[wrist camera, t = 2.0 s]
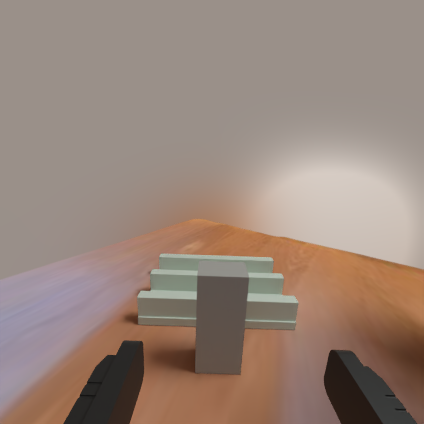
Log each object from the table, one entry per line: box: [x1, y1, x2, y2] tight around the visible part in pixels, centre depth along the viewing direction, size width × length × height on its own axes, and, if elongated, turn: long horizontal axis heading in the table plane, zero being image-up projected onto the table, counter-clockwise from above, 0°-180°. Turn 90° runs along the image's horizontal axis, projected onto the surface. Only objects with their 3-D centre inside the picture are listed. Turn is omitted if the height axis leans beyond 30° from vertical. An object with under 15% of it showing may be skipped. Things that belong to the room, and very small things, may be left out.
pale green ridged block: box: [137, 254, 298, 330], centre depth 36 cm, size 22×14×4 cm, turn 90°
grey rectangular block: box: [195, 261, 249, 374], centre depth 23 cm, size 5×3×12 cm, turn 90°
